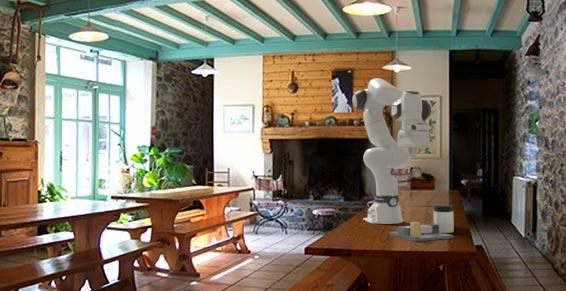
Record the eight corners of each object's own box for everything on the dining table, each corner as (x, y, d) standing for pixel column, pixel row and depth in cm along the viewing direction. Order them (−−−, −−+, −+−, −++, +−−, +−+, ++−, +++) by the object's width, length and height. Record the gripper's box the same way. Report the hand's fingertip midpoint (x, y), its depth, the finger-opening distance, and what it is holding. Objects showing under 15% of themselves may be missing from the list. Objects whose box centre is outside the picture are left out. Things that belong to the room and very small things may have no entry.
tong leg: (415, 234, 235) (415, 226, 235) (412, 233, 238) (412, 225, 238) (439, 232, 239) (438, 225, 239) (435, 231, 242) (435, 224, 242)
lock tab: (410, 236, 229) (410, 222, 229) (416, 236, 230) (416, 221, 230) (414, 237, 226) (414, 223, 226) (420, 237, 227) (420, 222, 227)
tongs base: (397, 233, 239) (397, 226, 239) (430, 231, 245) (430, 223, 245) (405, 235, 233) (405, 228, 234) (438, 232, 240) (438, 225, 240)
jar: (444, 233, 245) (443, 206, 245) (429, 231, 252) (429, 205, 252) (457, 231, 250) (456, 205, 250) (443, 229, 257) (442, 204, 257)
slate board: (389, 234, 244) (389, 232, 244) (424, 231, 251) (424, 229, 251) (415, 241, 225) (415, 238, 225) (453, 238, 232) (453, 235, 232)
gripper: (393, 127, 254) (393, 157, 254) (419, 125, 235) (420, 158, 235) (405, 127, 256) (405, 157, 256) (432, 125, 237) (432, 157, 237)
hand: (412, 157), depth 245 cm, fingers closed
